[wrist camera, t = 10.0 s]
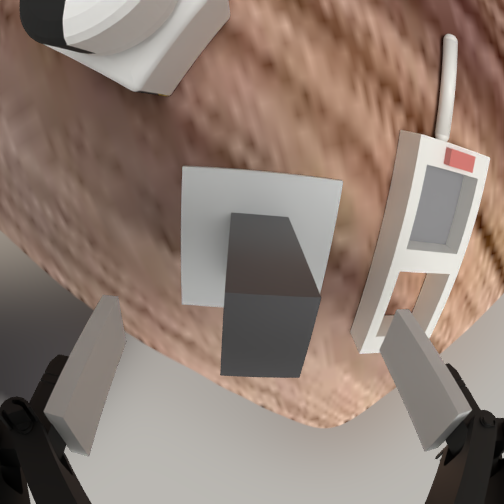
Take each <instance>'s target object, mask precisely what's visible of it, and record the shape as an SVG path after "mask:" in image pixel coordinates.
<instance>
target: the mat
mask: <svg viewBox="0 0 504 504" xmlns="http://www.w3.org/2000/svg"><path fill="white" fill-rule="evenodd" d="M342 186H343V181H342V180H337V179H330V178H322V177H315V176H306V175H298V174H289V173H279V172H269V171H258V170H246V169H234V168H219V167H202V166H183V167H182V198H181V288H182V304H185V305H198V306H211V307H224V296H225V282H226V269H227V256H228V243H229V231H230V219H231V212H232V213H245V214H258V215H270V216H282V217H289V220H290V222H291V224H292V227H293V229H294V231H295V234H296V236H297V239H298V241H299V244H300V246H301V248H302V251H303V253H304V256H305V258H306V261H307V263H308V266H309V268H310V270H311V273H312V275H313V278H314V280H315V283H316V286H317V288H318V291H319V293H320V292H321V288H322V284H323V279H324V275H325V270H326V266H327V262H328V257H329V252H330V248H331V243H332V238H333V233H334V228H335V223H336V218H337V213H338V208H339V202H340V197H341V191H342Z"/></svg>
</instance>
